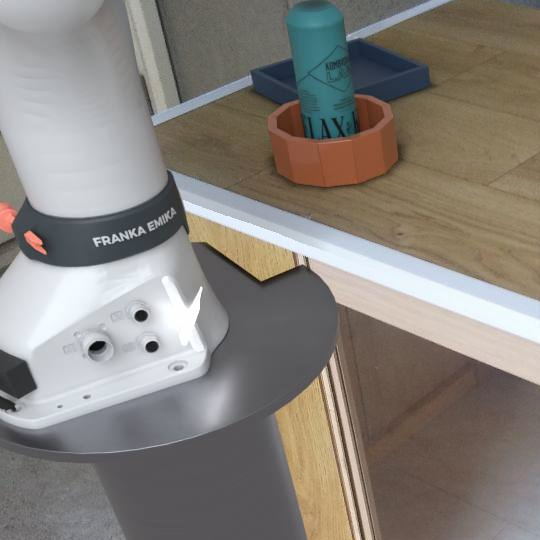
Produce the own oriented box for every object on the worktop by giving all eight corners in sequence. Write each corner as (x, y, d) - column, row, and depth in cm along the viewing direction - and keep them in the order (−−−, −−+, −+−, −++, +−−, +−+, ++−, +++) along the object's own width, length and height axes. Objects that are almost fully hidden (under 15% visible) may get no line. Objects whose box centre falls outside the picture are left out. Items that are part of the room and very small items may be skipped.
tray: (319, 124, 123) (315, 103, 121) (254, 90, 131) (249, 70, 129) (430, 86, 131) (428, 66, 129) (362, 57, 140) (360, 37, 138)
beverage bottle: (298, 166, 114) (261, -25, 100) (328, 144, 119) (296, -43, 105) (346, 175, 112) (316, -19, 98) (375, 152, 117) (350, -37, 103)
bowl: (320, 198, 109) (312, 153, 105) (254, 159, 116) (244, 116, 112) (421, 159, 115) (416, 116, 112) (352, 125, 123) (346, 83, 119)
